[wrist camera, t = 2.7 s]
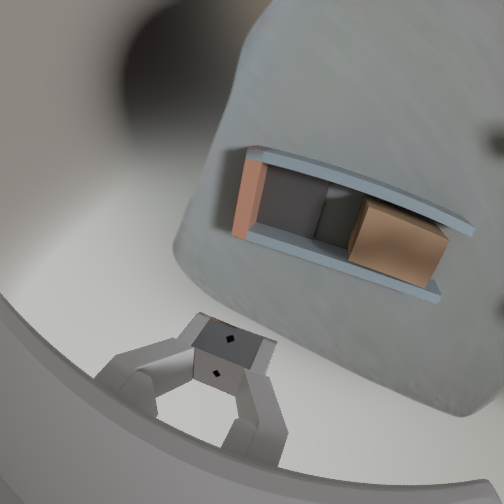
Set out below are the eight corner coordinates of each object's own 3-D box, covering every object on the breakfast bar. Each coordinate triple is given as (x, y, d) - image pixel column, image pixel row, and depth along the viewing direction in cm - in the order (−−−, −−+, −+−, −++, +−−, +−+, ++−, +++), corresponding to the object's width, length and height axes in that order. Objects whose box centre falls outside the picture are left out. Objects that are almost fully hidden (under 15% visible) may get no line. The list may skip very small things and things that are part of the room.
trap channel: (257, 145, 25) (247, 147, 22) (464, 217, 21) (475, 227, 18) (241, 225, 29) (231, 235, 27) (430, 288, 25) (437, 304, 22)
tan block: (364, 194, 24) (368, 206, 20) (434, 223, 23) (449, 240, 19) (347, 240, 26) (348, 260, 22) (415, 266, 25) (424, 288, 21)
